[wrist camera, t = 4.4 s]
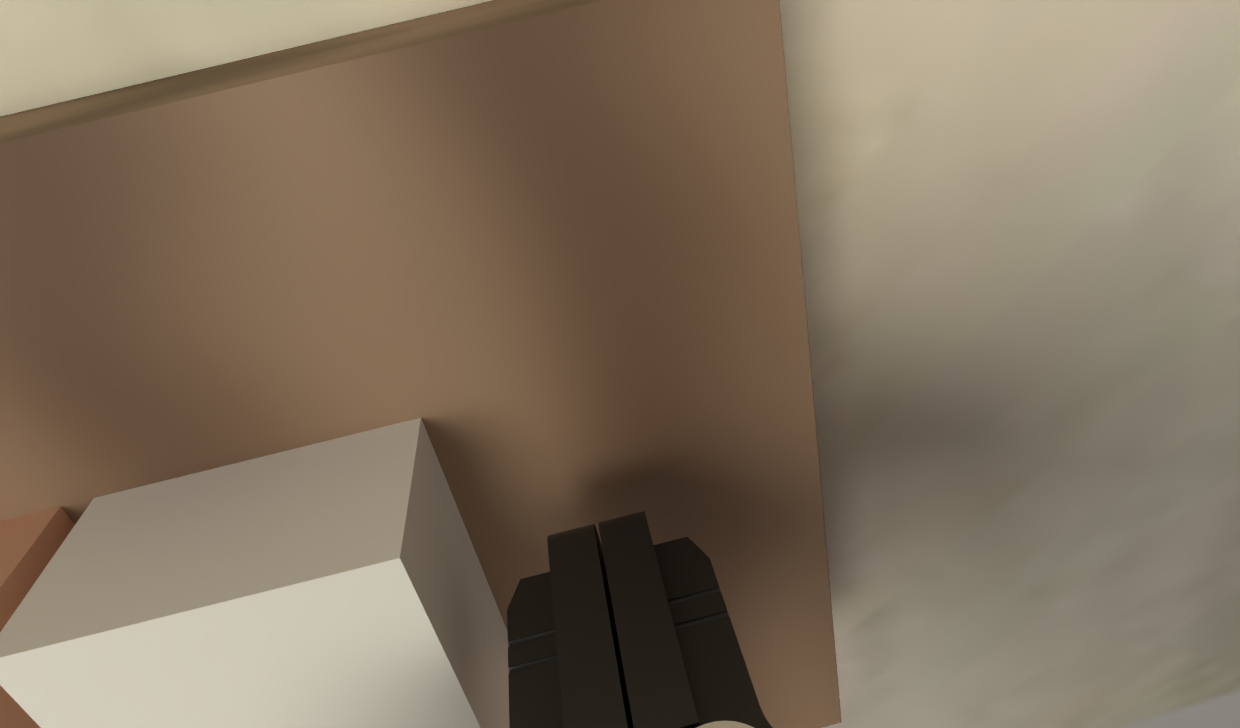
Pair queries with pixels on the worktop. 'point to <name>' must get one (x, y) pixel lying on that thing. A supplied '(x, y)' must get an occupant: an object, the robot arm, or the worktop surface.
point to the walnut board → (446, 289)
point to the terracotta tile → (25, 578)
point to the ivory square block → (268, 601)
